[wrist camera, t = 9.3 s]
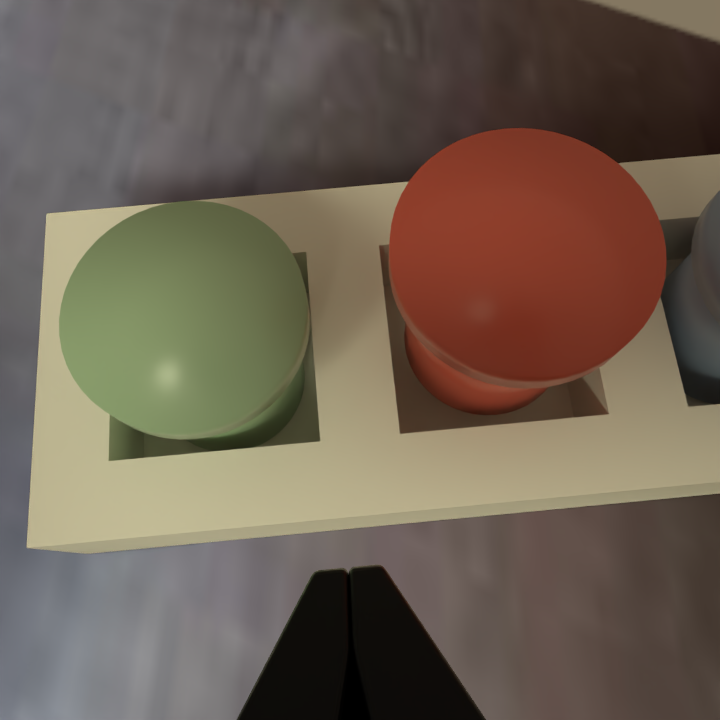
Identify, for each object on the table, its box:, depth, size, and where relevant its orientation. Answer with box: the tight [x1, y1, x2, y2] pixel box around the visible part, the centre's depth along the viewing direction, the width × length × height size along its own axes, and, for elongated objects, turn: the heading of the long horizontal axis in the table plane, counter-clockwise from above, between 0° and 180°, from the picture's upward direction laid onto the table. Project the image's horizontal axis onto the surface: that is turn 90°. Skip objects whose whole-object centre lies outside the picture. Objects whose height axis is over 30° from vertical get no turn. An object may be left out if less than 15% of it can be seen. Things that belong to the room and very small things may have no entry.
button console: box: [27, 154, 720, 554], centre depth 21 cm, size 10×26×4 cm, turn 95°
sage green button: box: [59, 201, 310, 451], centre depth 19 cm, size 6×6×6 cm
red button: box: [388, 128, 667, 415], centre depth 18 cm, size 6×6×6 cm
